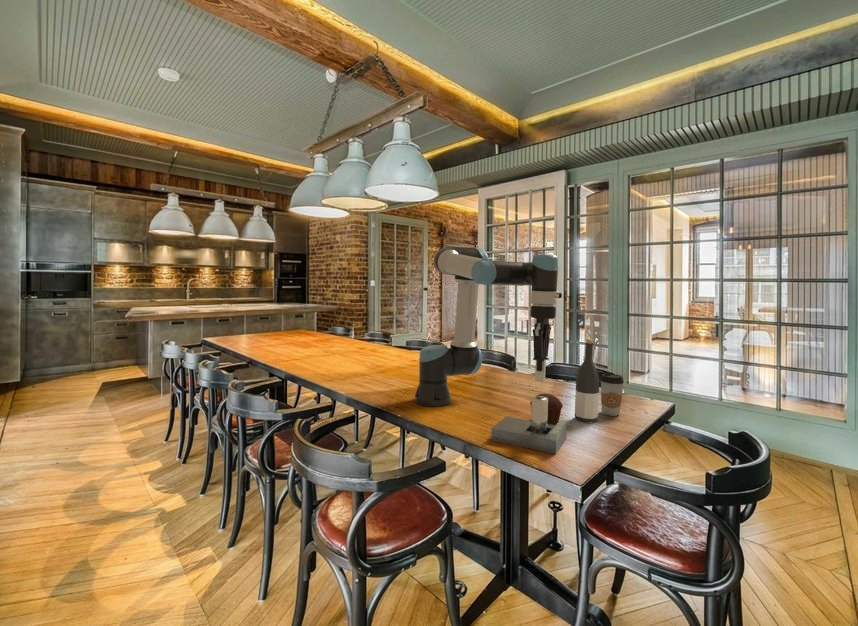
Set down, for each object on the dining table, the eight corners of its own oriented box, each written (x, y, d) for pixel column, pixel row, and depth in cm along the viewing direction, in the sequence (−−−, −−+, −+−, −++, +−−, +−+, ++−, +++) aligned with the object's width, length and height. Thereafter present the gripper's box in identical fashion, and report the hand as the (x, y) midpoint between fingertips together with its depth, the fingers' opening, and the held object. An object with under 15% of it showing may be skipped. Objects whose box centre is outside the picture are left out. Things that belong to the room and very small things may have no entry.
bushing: (528, 442, 128) (529, 398, 127) (532, 437, 133) (534, 394, 132) (544, 446, 126) (545, 400, 125) (548, 441, 130) (549, 396, 129)
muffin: (523, 418, 152) (523, 392, 151) (546, 415, 156) (547, 389, 156) (544, 429, 141) (545, 400, 140) (569, 425, 146) (570, 397, 145)
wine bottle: (583, 423, 147) (586, 340, 145) (569, 416, 155) (573, 337, 153) (602, 422, 149) (606, 340, 148) (588, 415, 157) (591, 337, 155)
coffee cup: (599, 415, 158) (600, 376, 157) (598, 409, 165) (600, 372, 164) (623, 418, 155) (625, 378, 154) (621, 412, 162) (623, 374, 161)
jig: (491, 440, 129) (491, 421, 129) (506, 427, 142) (506, 410, 141) (555, 454, 120) (556, 434, 119) (566, 439, 132) (566, 421, 131)
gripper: (550, 306, 119) (546, 387, 121) (560, 305, 130) (557, 378, 132) (525, 305, 123) (521, 383, 124) (536, 304, 134) (533, 375, 136)
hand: (539, 380), depth 128 cm, fingers closed
